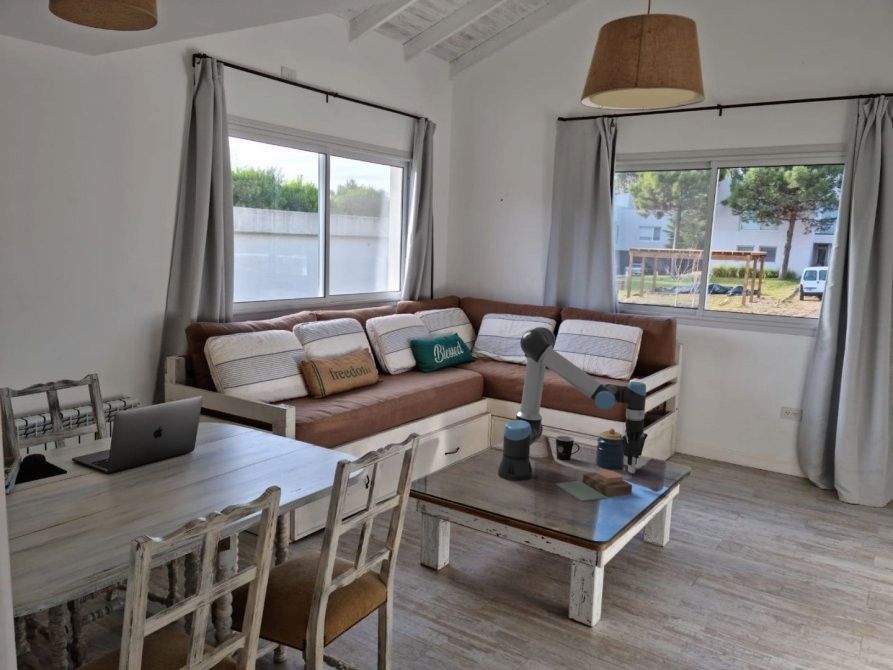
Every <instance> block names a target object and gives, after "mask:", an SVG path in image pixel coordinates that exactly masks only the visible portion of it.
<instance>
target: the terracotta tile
mask: <svg viewBox="0 0 893 670" xmlns="http://www.w3.org/2000/svg"><path fill="white" fill-rule="evenodd" d="M596 477H597V478H599V479H601V480H602V481H604V482H606V483H612V482H620V481H623V480H624V476H623V475H622V474H619V473H617V472H616V471H613V470H604V471H603V470H602V471H596Z"/></svg>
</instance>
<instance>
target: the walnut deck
mask: <svg viewBox="0 0 893 670" xmlns="http://www.w3.org/2000/svg"><path fill="white" fill-rule="evenodd" d="M596 472H597V471H596ZM596 472H586V473H585V472H584V473H583V474H582V482H583V483H584V484H586V485H588V486H589V487H591V488H593V489H594V490H596V491H598V492H599V493H601V494H603V495H604V496H606V497H607V498H612V497H621V496H628V495H632V493H633V492H632V491H633V484H631V483H630V482H629V481H625V480H624V479H623V481H620V482H612V483H606V482H604V481H602V480H601V479H599V478H597V477H596Z"/></svg>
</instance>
